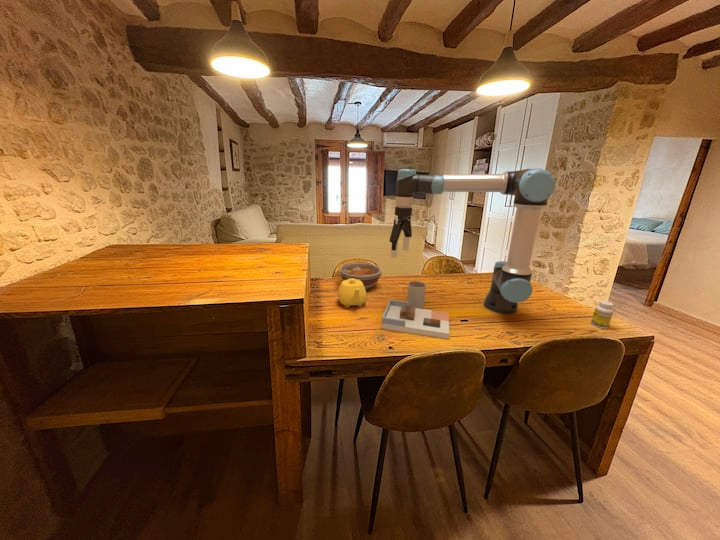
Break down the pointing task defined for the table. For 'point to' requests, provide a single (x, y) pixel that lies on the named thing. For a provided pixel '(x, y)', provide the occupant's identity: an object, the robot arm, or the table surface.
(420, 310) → the deck
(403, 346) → the table surface
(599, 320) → the pill bottle
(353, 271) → the bowl
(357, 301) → the teapot
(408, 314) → the walnut block
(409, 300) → the mug
